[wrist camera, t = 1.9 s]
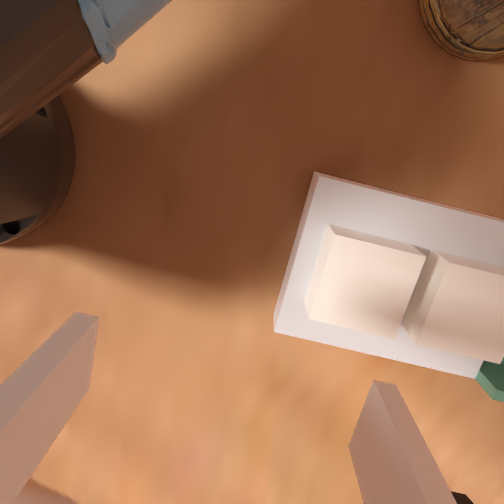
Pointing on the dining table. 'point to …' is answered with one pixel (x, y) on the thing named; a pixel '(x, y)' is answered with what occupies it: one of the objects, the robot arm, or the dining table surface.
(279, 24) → the dining table surface
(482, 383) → the box
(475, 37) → the wooden mug
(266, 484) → the dining table surface
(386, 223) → the board
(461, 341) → the tile
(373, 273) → the tile
